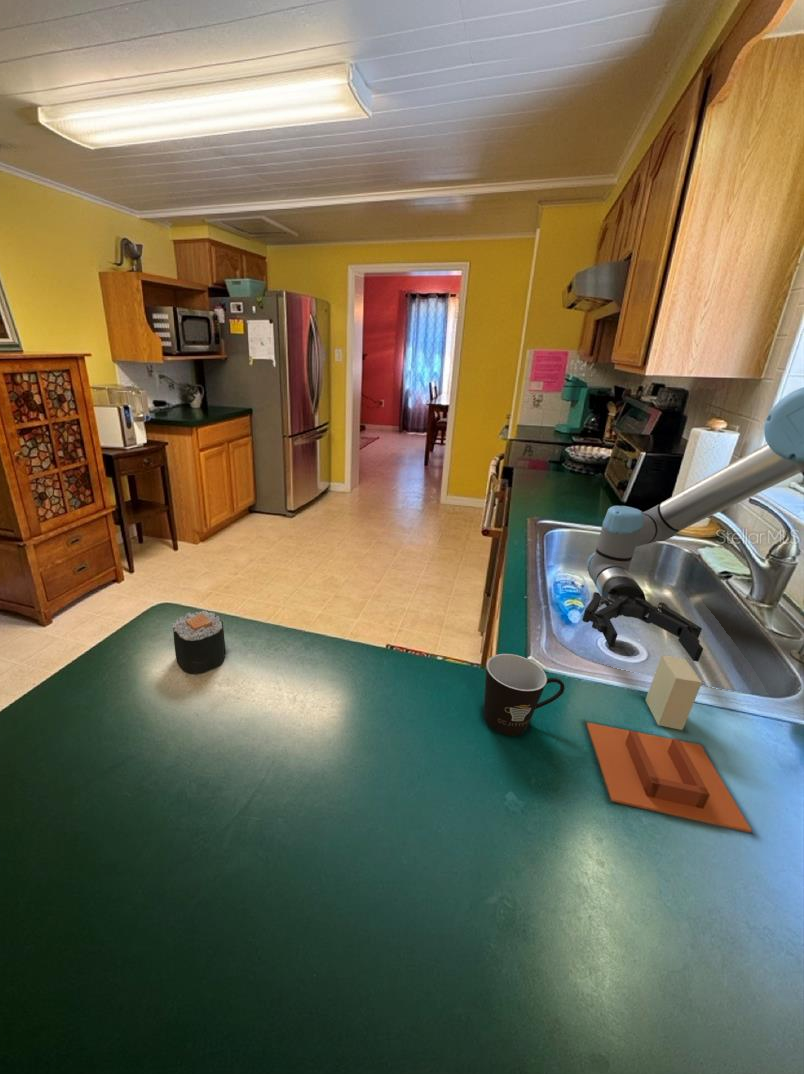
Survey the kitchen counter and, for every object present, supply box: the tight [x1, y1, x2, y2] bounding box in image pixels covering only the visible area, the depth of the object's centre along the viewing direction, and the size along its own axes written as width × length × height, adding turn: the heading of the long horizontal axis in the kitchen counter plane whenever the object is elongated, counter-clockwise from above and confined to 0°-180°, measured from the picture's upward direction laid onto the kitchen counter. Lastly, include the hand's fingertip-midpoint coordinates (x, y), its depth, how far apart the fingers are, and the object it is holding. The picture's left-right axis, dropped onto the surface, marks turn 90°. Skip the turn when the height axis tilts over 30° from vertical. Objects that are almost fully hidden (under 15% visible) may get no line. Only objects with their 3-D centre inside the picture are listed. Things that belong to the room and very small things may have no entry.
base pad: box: [586, 722, 752, 833], centre depth 65 cm, size 16×14×4 cm
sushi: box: [171, 610, 227, 675], centre depth 82 cm, size 8×8×8 cm
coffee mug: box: [483, 653, 565, 737], centre depth 71 cm, size 12×9×10 cm
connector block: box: [645, 654, 703, 731], centre depth 75 cm, size 4×6×10 cm, turn 167°
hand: (655, 647), depth 82 cm, fingers open, 13 cm apart
